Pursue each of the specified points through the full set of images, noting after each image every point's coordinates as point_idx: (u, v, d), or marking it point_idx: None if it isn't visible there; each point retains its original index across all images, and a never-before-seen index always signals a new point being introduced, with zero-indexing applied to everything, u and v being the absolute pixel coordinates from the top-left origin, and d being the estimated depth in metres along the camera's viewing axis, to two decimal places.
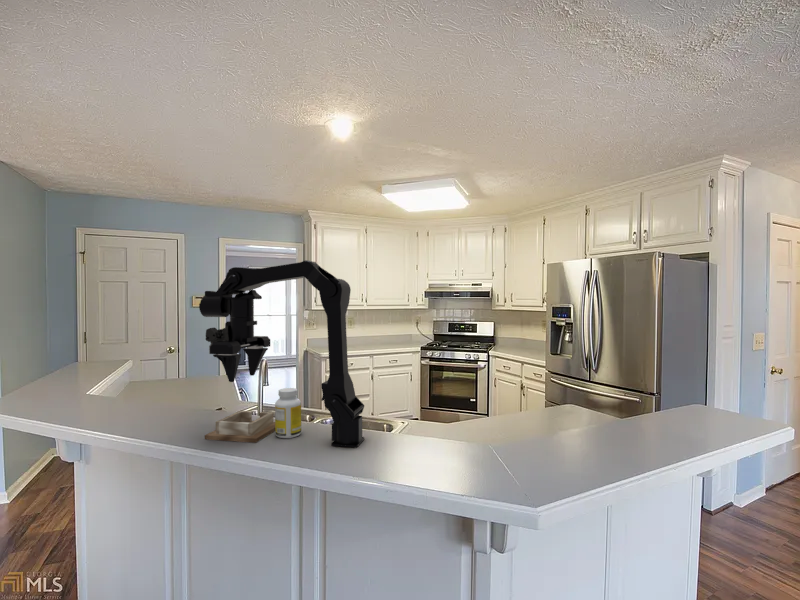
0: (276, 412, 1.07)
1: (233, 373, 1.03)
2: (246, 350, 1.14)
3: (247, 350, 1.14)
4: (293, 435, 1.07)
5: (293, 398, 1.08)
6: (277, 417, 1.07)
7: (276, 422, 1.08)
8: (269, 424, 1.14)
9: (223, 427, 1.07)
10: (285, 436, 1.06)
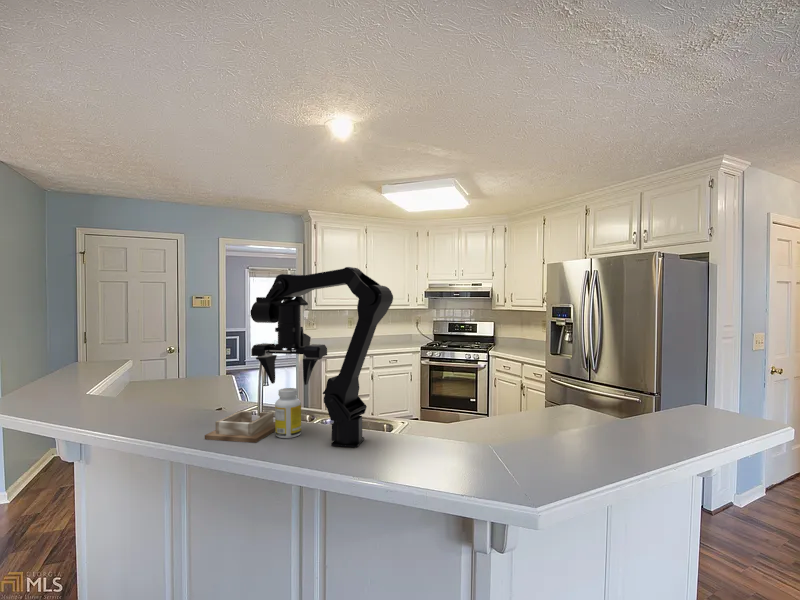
0: (276, 412, 1.07)
1: None
2: None
3: None
4: (293, 435, 1.07)
5: (293, 398, 1.08)
6: (277, 417, 1.07)
7: (276, 422, 1.08)
8: (269, 424, 1.14)
9: (223, 427, 1.07)
10: (285, 436, 1.06)
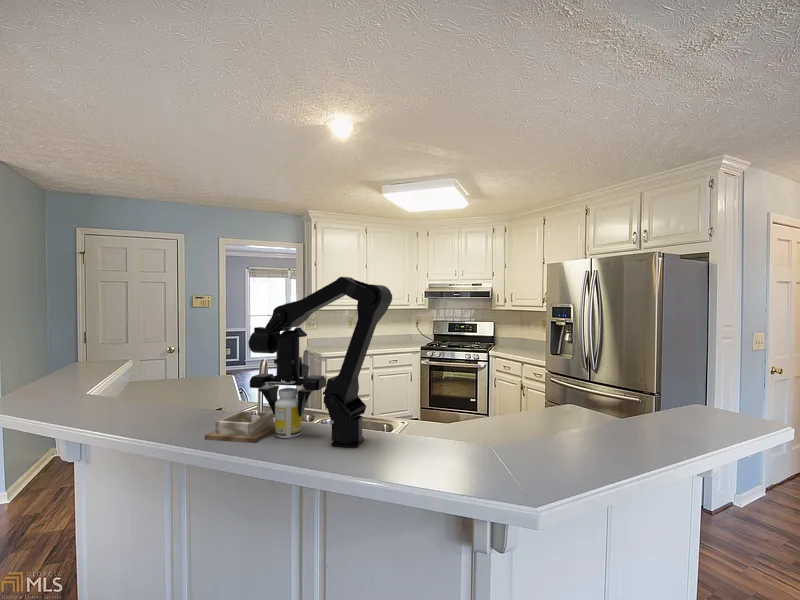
0: (276, 412, 1.07)
1: None
2: None
3: None
4: (293, 435, 1.07)
5: (293, 398, 1.08)
6: (277, 417, 1.07)
7: (276, 422, 1.08)
8: (269, 424, 1.14)
9: (223, 427, 1.07)
10: (285, 436, 1.06)
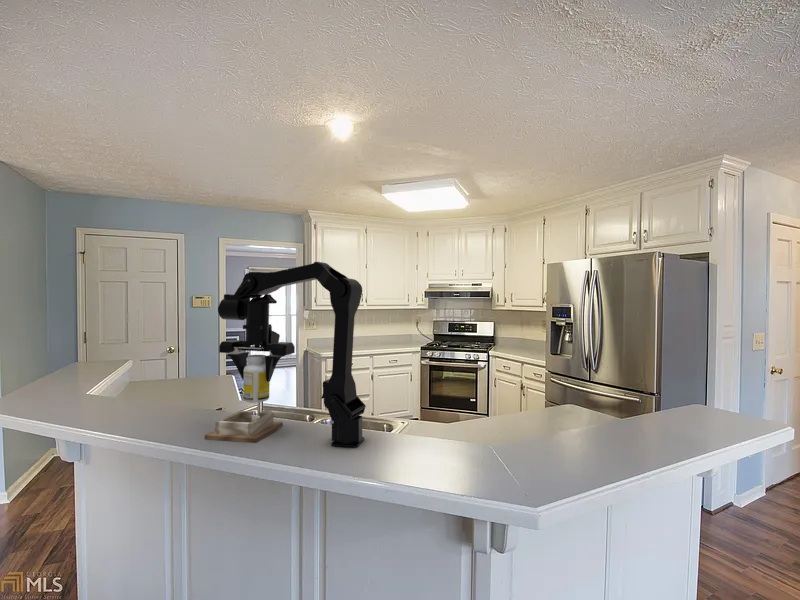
0: (244, 377, 1.09)
1: None
2: None
3: None
4: (260, 400, 1.09)
5: (262, 363, 1.10)
6: (245, 382, 1.09)
7: (244, 387, 1.09)
8: (269, 424, 1.14)
9: (223, 427, 1.07)
10: (252, 400, 1.08)
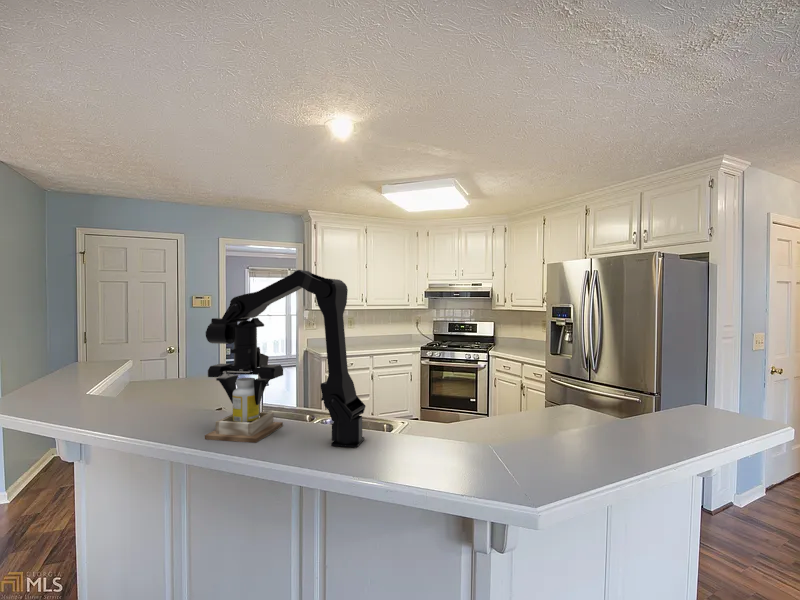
0: (233, 401, 1.10)
1: None
2: None
3: None
4: None
5: (251, 387, 1.11)
6: (234, 406, 1.09)
7: (233, 410, 1.10)
8: (269, 424, 1.14)
9: (223, 427, 1.07)
10: None
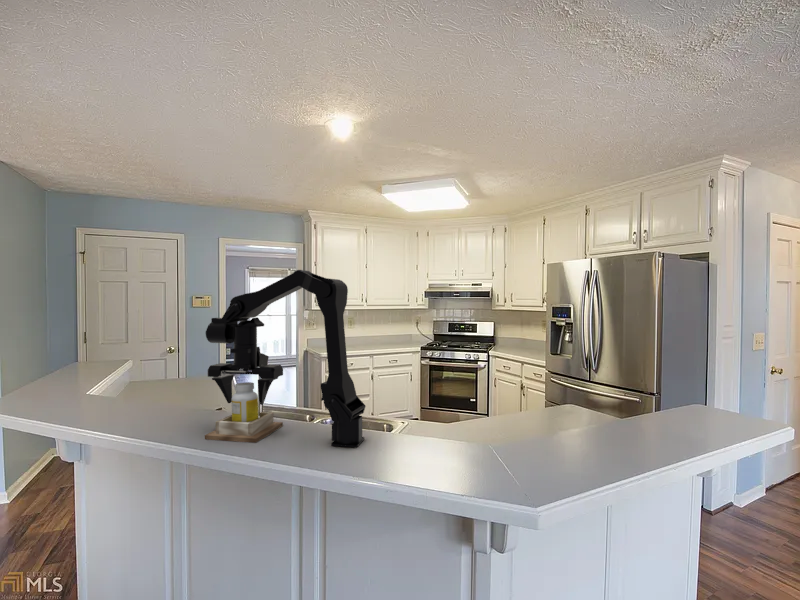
0: (232, 406, 1.10)
1: None
2: None
3: None
4: None
5: (249, 391, 1.11)
6: (233, 410, 1.09)
7: (232, 415, 1.10)
8: (269, 424, 1.14)
9: (223, 427, 1.07)
10: None
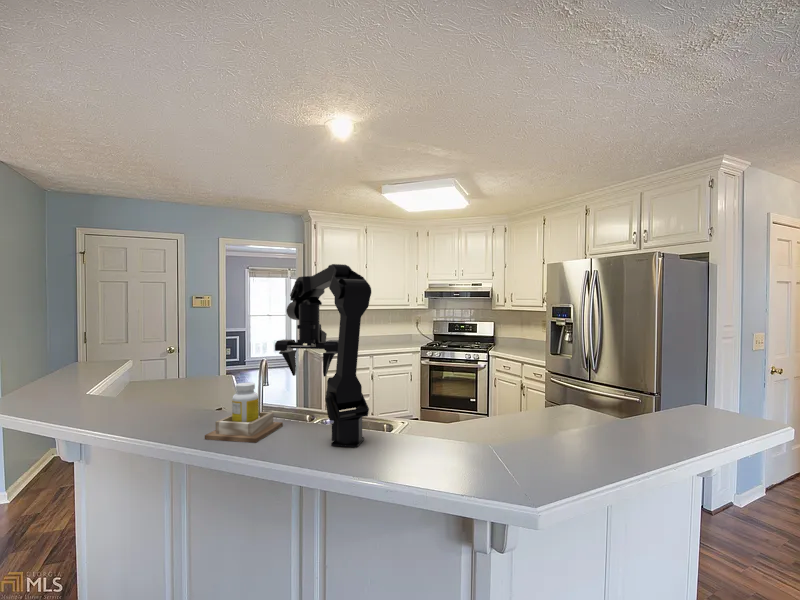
0: (233, 406, 1.10)
1: None
2: None
3: None
4: None
5: (250, 392, 1.11)
6: (233, 411, 1.09)
7: (233, 415, 1.10)
8: (269, 424, 1.14)
9: (223, 427, 1.07)
10: None
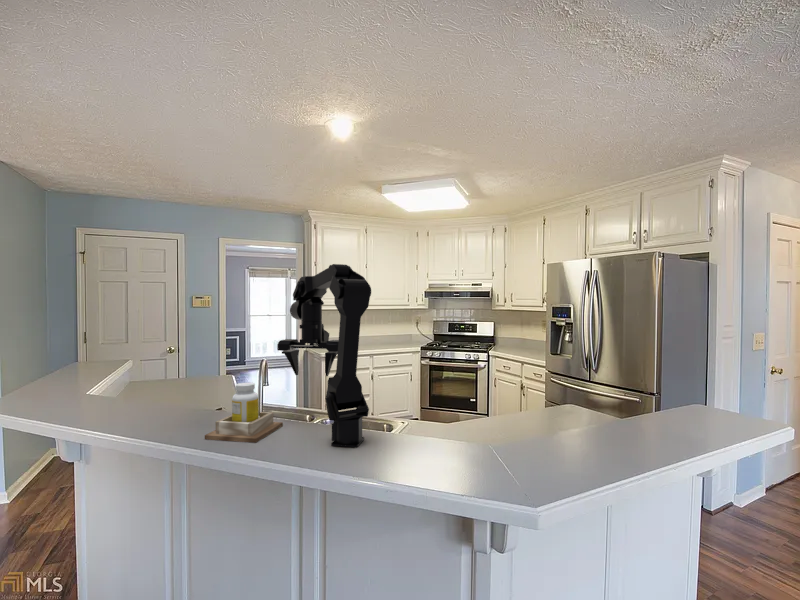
0: (232, 406, 1.10)
1: None
2: None
3: None
4: None
5: (250, 392, 1.11)
6: (233, 411, 1.09)
7: (233, 415, 1.10)
8: (269, 424, 1.14)
9: (223, 427, 1.07)
10: None
